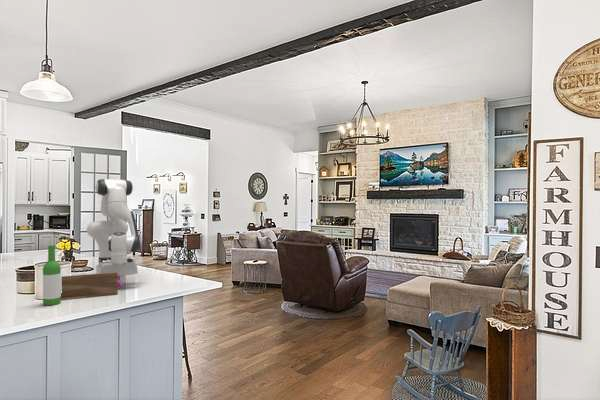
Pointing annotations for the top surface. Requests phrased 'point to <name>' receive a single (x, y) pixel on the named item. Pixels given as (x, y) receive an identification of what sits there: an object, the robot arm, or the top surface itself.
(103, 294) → the brown block
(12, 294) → the top surface
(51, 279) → the wine bottle
